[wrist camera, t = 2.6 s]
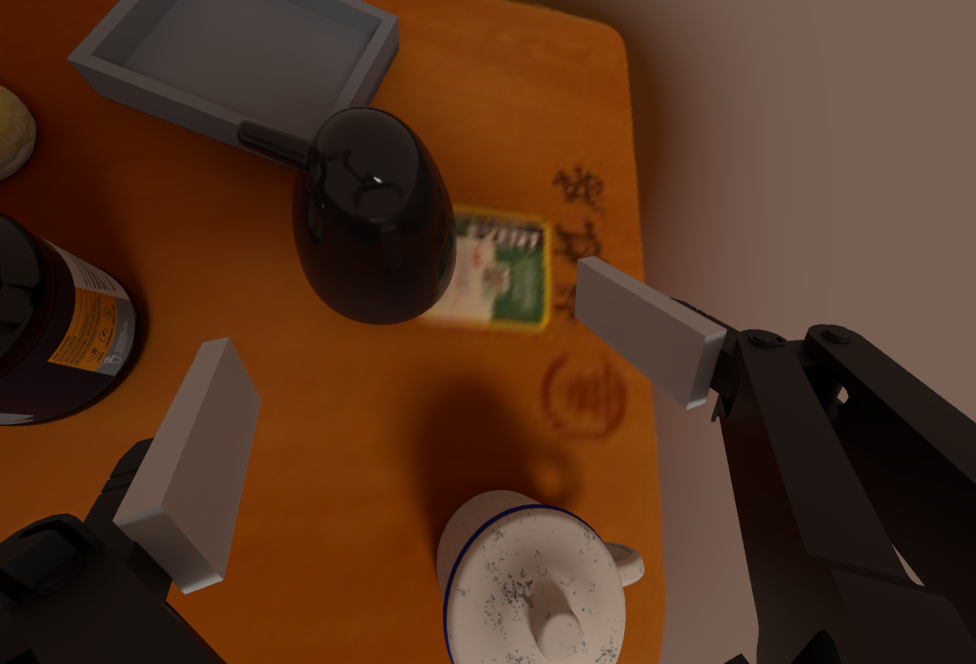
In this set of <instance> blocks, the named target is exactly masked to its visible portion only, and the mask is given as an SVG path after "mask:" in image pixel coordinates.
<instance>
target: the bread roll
mask: <svg viewBox="0 0 976 664" xmlns="http://www.w3.org/2000/svg"><path fill="white" fill-rule="evenodd" d="M36 130H37V129H36V124H35V121H34V118H33V117H32V115H31V114H30V112H29V111H28V108H27V107H26V106H25V105H24V103H22V101H21V100H20V99H19V98H18V97H17V96H16V95H15V94H13V93H12V92H11V91H9V90H8V89H6V88H4V87H2V86H0V180H2V179H4V178H6V177H8V176H10V175H12V174H13V173H15V172H16V171H18V170H19V169H20V168H21V167H22V165H23V164H24V163H25V162H26V161H27V160H28V159H29V157H30V156H31V154H32V152H33V150H34V144H35V140H36Z"/></svg>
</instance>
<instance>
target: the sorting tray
mask: <svg viewBox="0 0 976 664" xmlns="http://www.w3.org/2000/svg"><path fill="white" fill-rule="evenodd" d="M398 50H399V31H398V16H395V15H393V14H391V13H388V12H386V11H384V10H381V9H379V8H377V7H374V6H372V5H370V4H368V3H365V2H363V1H361V0H120V1H119V2H118V3H117V4H116V5H115V6H114V7H113V8H112V9H111V11H110V12H109V13H108V14H107V15H106V16H105V17H104V18H103V19H102V20H101V21H100V22H99V24H98V25H97V26H96V27H95V28H94V29H93V30H92V31H91V32H90V33H89V34H88V36H87V37H86V38H85V39H84V40H83V41H82V42H81V43H80V44H79V45H78V46H77V48H76V49H75V50H74V51H73V52H72V53H71V54H70V55H69V56H68V57H67V58H66V59H67V60H68V61H69V62H70V63H71V64H72V66H73V67H74V68H75V69H76V70H77V71H78V72H79V73H80V74H81V76H82V77H83V78H84V79H85V80H86V81H87V82H88V83H89V84H90V86H91V87H92V88H93V89H94V90H95V91H96V92H97V93H98V95H100V96H103V97H105V98H108V99H111V100H113V101H116V102H119V103H121V104H124V105H126V106H129V107H132V108H134V109H137V110H140V111H142V112H145V113H147V114H150V115H153V116H155V117H158V118H161V119H163V120H166V121H168V122H171V123H174V124H176V125H179V126H182V127H184V128H187V129H189V130H192V131H195V132H197V133H200V134H202V135H205V136H208V137H210V138H213V139H216V140H218V141H221V142H223V143H226V144H229V145H231V146H234V147H237V148H239V149H242V150H244V151H247V152H250V153H252V154H255V155H258V156H260V157H263V158H265V159H268V160H271V161H273V162H276V163H279V164H281V165H284V166H286V167H289V168H292V167H290V166H288V165H285V164H283V163H281V162H278V161H276V160H274V159H272V158H269V157H267V156H265V155H262V154H260V153H258V152H255V151H253V150H251V149H248V148H246V147H244V146H242V145H241V144H240V143H239V141H238V139H237V129H238V125H239V123H240V122H241V121H243V120H249V121H252V122H255V123H258V124H261V125H264V126H268V127H271V128H274V129H277V130H280V131H283V132H286V133H290V134H293V135H296V136H299V137H302V138H306V139H311V137H312V135H313V134H314V132H315V131H316V130H317V128H318V127H319V126H320V125H321V124H322V123H323V122H324V121H325V120H326V119H327V118H328V117H329V116H330V115H332V114H333V113H335V112H337V111H339V110H341V109H344V108H348V107H353V106H369V105H370V103H371V101H372V99H373V97H374V95H375V94H376V92H377V90H378V88H379V86H380V84H381V82H382V80H383V79H384V77H385V75H386V73H387V71H388V69H389V67H390V65H391V64H392V62H393V60H394V58H395V56H396V54H397V52H398ZM292 169H294V170H297V169H295V168H292Z"/></svg>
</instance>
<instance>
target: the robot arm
mask: <svg viewBox="0 0 976 664" xmlns="http://www.w3.org/2000/svg"><path fill="white" fill-rule="evenodd" d="M575 317H576V318H577V319H578V320H579V321H580V322H582V323H583V324H584V325H585V326H586V327H588V328H589V329H590V330H591V331H592V332H594V333H595V334H596V335H597V336H598V337H600V338H601V339H602V340H603V341H604V342H606V343H607V344H608V345H609V346H610V347H612V348H613V349H614V350H615V351H616V352H618V353H619V354H620V355H621V356H622V357H624V358H625V359H626V360H627V361H628V362H630V363H631V364H632V365H633V366H634V367H636V368H637V369H638V370H639V371H640V372H642V373H643V374H644V375H645V376H646V377H648V378H649V379H650V380H651V381H652V382H654V383H655V384H656V385H657V386H658V387H660V388H661V389H662V390H663V391H664V392H666V393H667V394H668V395H669V396H670V397H672V398H673V399H674V400H675V401H676V402H678V403H679V404H680V405H681V406H683V407H684V408H685V409H686V410H687V409H689V408H692V407H695V406H698V405H701V404H703V403H705V402H706V399H707V396H708V392H709V389H710V388H712V389H713V390H715V391H716V392H717V393H719V396H718V399H717V402H716V405H715V408H714V411H713V414H712V419H711V422H715V420H716V417H718V416H719V418H720V424H721V429H722V435H723V440H724V445H725V450H726V455H727V461H728V465H729V471H730V476H731V481H732V487H733V492H734V497H735V502H736V507H737V513H738V517H739V523H740V528H741V534H742V539H743V544H744V550H745V555H746V560H747V565H748V570H749V576H750V581H751V586H752V592H753V597H754V601H755V607H756V612H757V618H758V625H759V637H758V644H757V664H976V423H975V422H973V421H972V420H971V419H970V418H968V417H967V416H966V415H964V414H963V413H962V412H960V411H959V410H958V409H957V408H955V407H954V406H953V405H951V404H950V403H948V402H947V401H946V400H945V399H943V398H942V397H941V396H940V395H938V394H937V393H935V392H934V391H933V390H932V389H930V388H929V387H928V386H926V385H925V384H924V383H922V382H921V381H920V380H919V379H917V378H916V377H915V376H913V375H912V374H911V373H909V372H908V371H907V370H905V369H904V368H903V367H901V366H900V365H899V364H897V363H896V362H895V361H893V360H892V359H891V358H890V357H888V356H887V355H886V354H884V353H883V352H882V351H881V350H879V349H878V348H877V347H875V346H874V345H873V344H871V343H870V342H869V341H867V340H866V339H865V338H863V337H862V336H861V335H859V334H857V333H856V332H854V331H851V330H848V329H846V328H845V327H841V326H837V325H825V324H820V325H814V326H812V327H810V328H809V329H808V332H807V334H806V336H805V339H804V340H794V341H787V340H786V339H784V338H783V337H781V336H779V335H777V334H775V333H772V332H769V331H764V330H755V329H754V330H753V329H751V330H750V329H749V330H744V331H741V332H739V331H737V330H736V329H734V328H732V327H730V326H728V325H726V324H725V323H723V322H721V321H719V320H717V319H715V318H713V317H712V316H710V315H706V313H704V312H702V311H700V310H697V309H696V308H695V307H693V306H691V305H689V304H688V303H686V302H683V301H680V300H677V299H673V298H670V297H667V296H665V295H663V294H662V293H660V292H658V291H656V290H654V289H653V288H651V287H649V286H647V285H645V284H643V283H642V282H640V281H638V280H636V279H634V278H633V277H631V276H629V275H627V274H625V273H623V272H622V271H620V270H618V269H616V268H614V267H613V266H611V265H609V264H607V263H605V262H603V261H602V260H600V259H598V258H596V257H594V256H592V257H587V258H583V259H578V266H577V286H576V305H575ZM842 387H844V388H845V389H846V391H847V393H848V396H849V398H848V399H847V401H846V402H845V403H842V402H841V401H840V400H839V399H838V398H837V396H838V394H839V393H840V391H841V389H842ZM260 403H261V399H260V397H259V395H258V393H257V391H256V389H255V387H254V385H253V383H252V381H251V379H250V377H249V375H248V373H247V371H246V369H245V368H244V366H243V364H242V362H241V360H240V358H239V356H238V354H237V352H236V350H235V348H234V346H233V344H232V342H231V340H230V338H229V337H226V338H221V339H217V340H212V341H208V342H203V343H202V345H201V347H200V349H199V351H198V353H197V355H196V357H195V359H194V361H193V363H192V365H191V367H190V369H189V371H188V373H187V375H186V377H185V379H184V381H183V382H182V384H181V386H180V388H179V390H178V392H177V394H176V396H175V398H174V400H173V402H172V404H171V406H170V408H169V410H168V412H167V414H166V416H165V418H164V420H163V422H162V424H161V426H160V428H159V430H158V432H157V434H156V436H155V437H154V438H150V439H146V440H143V441H139V442H137V443H136V444H135V445H134V446H133V447H132V448H131V449H130V450H129V451H128V452H127V453H126V454H125V455H124V456H123V457H122V458H121V459H120V460H119V461H118V463H117V465H116V467H115V468H114V470H113V472H112V474H111V475H110V480H108V481H107V482H106V484H105V486H104V488H103V489H102V491H101V492H102V494H101V495H99V496H98V498H97V500H96V501H95V503H94V505H93V507H92V508H91V510H90V512H89V514H88V515H87V517H86V519H85V521H84V522H83V523H82V522H81V521H80V520H79V519H78V518H77V517H75V516H73V515H70V514H59V515H52V516H50V517H47V518H44V519H41V520H39V521H36V522H34V523H32V524H30V525H28V526H26V527H25V528H23V529H21V530H19V531H17V532H15V533H14V534H13V535H11V536H10V537H8V538H7V539H6V540H4V541H3V542H2V543H0V606H1V607H0V664H227V663H226V662H225V661H224V660H223V659H222V658H221V657H220V656H219V655H218V654H217V653H216V652H215V651H214V650H213V649H212V648H211V647H210V646H209V645H208V644H207V642H206V641H205V640H204V639H203V638H202V637H201V636H200V635H199V634H198V633H197V632H196V631H195V630H194V629H193V628H192V627H191V626H190V625H189V624H188V623H187V622H186V621H185V619H184V618H183V617H182V616H181V615H180V614H179V613H178V612H177V611H176V610H175V609H174V608H173V607H172V606H171V605H170V604H169V603H168V602H167V601H166V598H167V595H168V592H169V589H170V586H171V582H172V581H173V582H174V583H175V585H176V586H177V587H178V588H179V589H180V590H181V591H182V592H183V593H184V594H187V593H189V592H192V591H195V590H198V589H200V588H203V587H206V586H209V585H211V584H214V583H217V582H219V581H222V580H224V575H225V570H226V565H227V561H228V556H229V551H230V546H231V541H232V537H233V532H234V527H235V522H236V518H237V513H238V508H239V503H240V498H241V494H242V489H243V484H244V479H245V474H246V470H247V465H248V460H249V455H250V451H251V446H252V441H253V436H254V431H255V427H256V422H257V417H258V412H259V407H260ZM891 543H892V544H893V546H894V547H895V548H896V550H897V551H898V552H899V553H900V555H901V556H902V557H903V559H904V560H905V561H906V562H907V564H908V565H909V566H910V567H911V569H912V570H913V571H914V572H915V574H916V575H917V576H918V578H919V579H920V580H921V582H922V583H923V584H924V585H925V586H921V585H918V584H916V583H915V582H913V581H912V580H911V579H910V577H909V576H908V574H907V573H906V571H905V569H904V567H903V565H902V563H901V562H900V559H899V557H898V556H897V554H896V552H895V550H894V548H893V546H892V544H891ZM724 664H749V663H748V661H747V660H746V659H745V657H744V656H743V655H742V654H739V655H737V656H736V657H734V658H733V659H731V660H729V661H727V662H726V663H724Z"/></svg>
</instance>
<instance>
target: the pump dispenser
mask: <svg viewBox="0 0 976 664" xmlns="http://www.w3.org/2000/svg"><path fill="white" fill-rule="evenodd" d="M237 139H238V141H239V143H240V144H241V145H242V146H244V147H246V148H248V149H251V150H253V151H255V152H258V153H260V154H262V155H265V156H267V157H269V158H272V159H274V160H276V161H278V162H281V163H283V164H285V165H288V166H290V167H292V168H295V169H297V174H296V178H295V183H294V189H293V198H292V224H293V233H294V239H295V244H296V248H297V252H298V256H299V259H300V263H301V266H302V269H303V271H304V274H305V276H306V278H307V280H308V282H309V284H310V285H311V287H312V288H313V290H314V291H315V293H316V294H317V295H318V296H319V298H320V299H321V300H322V301H323V302H324V303H325V304H326V305H327V306H329V307H330V308H331V309H333V310H334V311H335V312H337V313H339V314H340V315H342V316H344V317H347V318H349V319H351V320H354V321H357V322H361V323H366V324H373V325H389V324H396V323H401V322H404V321H408V320H410V319H413V318H415V317H417V316H419V315H421V314H423V313H424V312H426V311H427V310H429V309H430V308H431V307H432V306H433V305H435V304H436V303H437V302H438V301H439V299H440V298H441V297H442V296H443V294H444V293H445V291H446V290H447V288H448V286H449V284H450V281H451V279H452V276H453V272H454V268H455V263H456V253H457V238H456V224H455V217H454V212H453V208H452V204H451V200H450V197H449V194H448V191H447V188H446V185H445V183H444V180H443V178H442V176H441V173H440V171H439V169H438V167H437V165H436V163H435V161H434V159H433V157H432V156H431V154H430V152H429V151H428V149H427V147H426V146H425V144H424V143H423V142H422V140H421V139H420V138H419V137H418V135H417V134H416V133H415V132H414V131H413V130H412V129H411V128H410V127H409V126H408V125H407V124H406V123H404V122H403V121H402V120H401V119H399V118H398V117H396V116H395V115H393V114H391V113H389V112H387V111H385V110H382V109H379V108H375V107H369V106H353V107H348V108H344V109H341V110H339V111H337V112H335V113H333V114H332V115H330V116H329V117H328V118H327V119H326V120H325V121H324V122H323V123H322V124H321V125H320V126H319V127H318V128H317V130H316V131H315V132H314V134H313V135H312V137H311V139H306V138H302V137H299V136H296V135H293V134H290V133H286V132H283V131H280V130H277V129H274V128H271V127H268V126H264V125H261V124H258V123H255V122H252V121H249V120H243V121H241V122H240V123H239V125H238V129H237Z"/></svg>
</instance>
